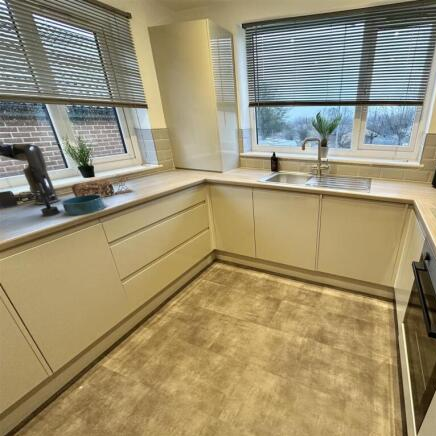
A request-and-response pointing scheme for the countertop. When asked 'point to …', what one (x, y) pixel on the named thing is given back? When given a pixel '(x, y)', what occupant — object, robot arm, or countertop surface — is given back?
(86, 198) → the bowl
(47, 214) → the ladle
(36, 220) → the countertop surface
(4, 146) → the robot arm
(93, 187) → the bread
